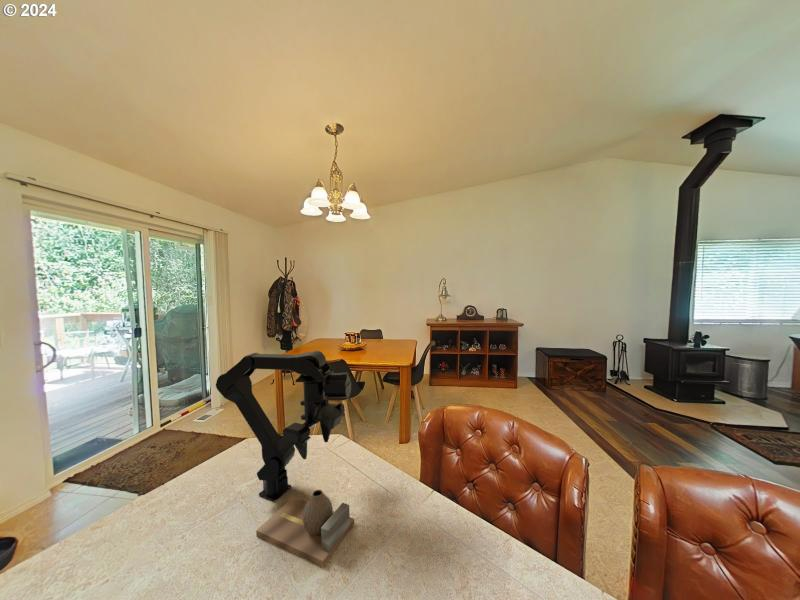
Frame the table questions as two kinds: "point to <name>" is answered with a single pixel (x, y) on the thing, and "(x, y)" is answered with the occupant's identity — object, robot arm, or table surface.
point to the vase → (317, 512)
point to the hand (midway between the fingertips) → (315, 449)
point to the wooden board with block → (294, 538)
